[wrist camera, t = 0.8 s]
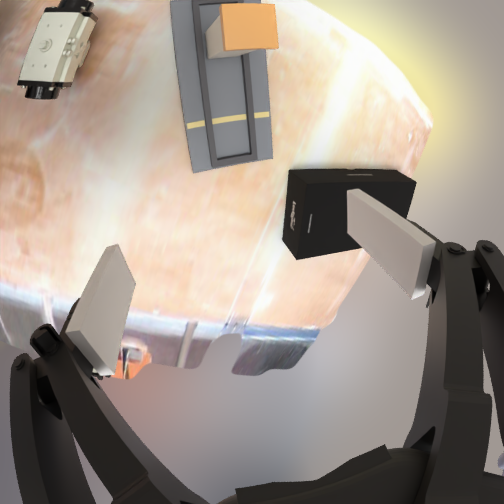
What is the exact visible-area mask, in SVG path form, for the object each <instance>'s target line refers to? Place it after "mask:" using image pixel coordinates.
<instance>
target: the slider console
mask: <svg viewBox="0 0 504 504" xmlns="http://www.w3.org/2000/svg"><path fill="white" fill-rule="evenodd" d="M236 3H258V4H261V0H172V1H170V8H171V19H172V29H173V39H174V48H175V56H176V65H177V73H178V80H179V88H180V95H181V102H182V109H183V115H184V122H185V128H186V134H187V141H188V147H189V153H190V158H191V164H192V170H193V173H197V172H202V171H207V170H211V169H216V168H221V167H226V166H232V165H237V164H243V163H248V162H254V161H261V160H267V159H273V149H272V132H271V116H270V101H269V87H268V74H267V61H266V50H265V49H257V50H254V51H251V52H249V53H246V54H243V55H240V56H236V57H225V58H215V59H208V58H207V49H206V40H205V32H206V31H207V30H208V28H209V27H210V26H211V25H212V24H213V22H214V21H215V20H216V19H217V18H218V16H219V15H220V11H219V6H220V5H221V4H236Z"/></svg>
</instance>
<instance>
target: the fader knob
mask: <svg viewBox="0 0 504 504" xmlns="http://www.w3.org/2000/svg"><path fill="white" fill-rule="evenodd" d="M219 11H220V15H219V16H218V18H217V19H216V20H215V21H214V22H213V24H212V25H211V26H210V27H209V28H208V30H207V31H206V32H205V40H206V49H207V58H208V59H215V58H225V57H236V56H240V55H243V54H246V53H249V52H251V51H254V50H257V49H277V48H279V46H278V34H277V23H276V13H275V4H258V3H236V4H221V5H220V6H219Z"/></svg>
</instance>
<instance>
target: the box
mask: <svg viewBox="0 0 504 504" xmlns="http://www.w3.org/2000/svg"><path fill="white" fill-rule="evenodd" d="M415 186H416V181H414V180H412V179H411V178H409V177H407V176H405V175H404V174H402V173H400V172H398V171H397V170H383V169H355V170H348V169H300V170H289V174H288V186H287V197H286V208H285V218H284V228H283V238H282V240H283V242H284V243H285V245H286V246H287V247H288V249H289V250H290V252H291V253H292V254H293V256H294V257H295V259H296V260H300V259H305V258H311V257H316V256H321V255H327V254H332V253H338V252H343V251H348V250H353V249H359V248H362V247H361V246H360V245H359V244H358V243H357V242H356V241H355V240H354V239H353V238H352V237H351V236H350V235H349V234H348V233H347V231H348V220H347V190H353V189H360V190H361V191H363V192H365V193H366V194H368V195H369V196H371V197H373V198H374V199H376V200H377V201H379V202H380V203H382V204H383V205H385V206H386V207H388V208H389V209H391V210H392V211H394V212H395V213H397V214H398V215H400V216H401V217H403V218H404V219H406V218H407V215H408V211H409V208H410V205H411V201H412V198H413V194H414V190H415Z"/></svg>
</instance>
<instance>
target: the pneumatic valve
mask: <svg viewBox="0 0 504 504" xmlns="http://www.w3.org/2000/svg"><path fill="white" fill-rule="evenodd" d="M93 6H94V3H92V2H91V1H88V0H61V1H60V3H59V5H58V7H54V6H53V7H49V8H46V9H45V11H44V13H43V15H42V17H41V19H40V21H39V24H38V26H37V28H36V30H35V33H34V35H33V38H32V40H31V43H30V46H29V48H28V51H27V54H26V57H25V60H24V63H23V66H22V69H21V73H20V76H19V80H18V83H17V85H20V86H22V87H21V88H26V86H27V90H26V93H25V98H30V99H57V98H58V95H59V92H60V88H61V89H65V87H71V85H72V82H73V79H74V76H75V73H76V70H77V67H79V68H80V67H81V66H83V63H84V60H85V58H86V55H87V53H88V50H89V48H90V45H91V44H90V41H88V39H89V37H90V34H91V32H92V30H93V28H94V26H95V24H96V21H97V19H98V18H97V17H96V16H95V15H94V14H93V13H92V12H91V10H92V8H93Z"/></svg>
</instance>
